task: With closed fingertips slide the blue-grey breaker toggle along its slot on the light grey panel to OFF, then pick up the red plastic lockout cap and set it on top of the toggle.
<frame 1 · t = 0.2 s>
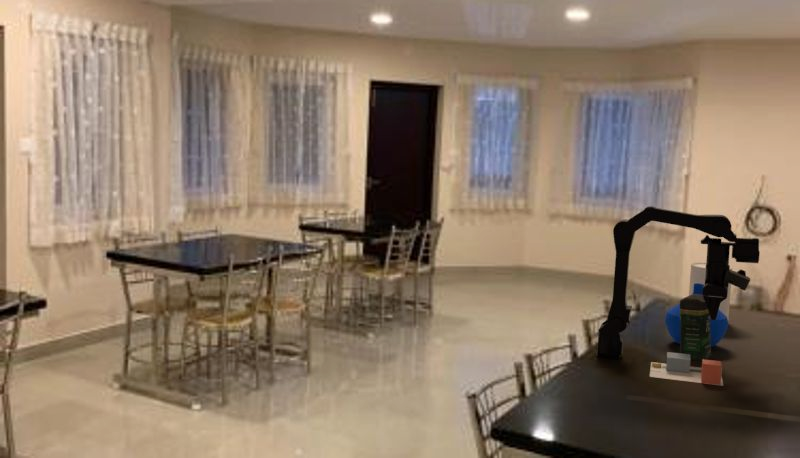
hand: (714, 316, 219), 15 cm above the table, fingers open, 9 cm apart
coffee jar: (695, 359, 228), on the table
canister: (707, 322, 279), on the table
panel: (685, 376, 211), on the table
vase: (694, 345, 246), on the table
breaker toggle: (678, 362, 214), point 3 cm above the table, slide at 0.0 cm
lockout cap: (710, 381, 204), point 1 cm above the table, touching panel
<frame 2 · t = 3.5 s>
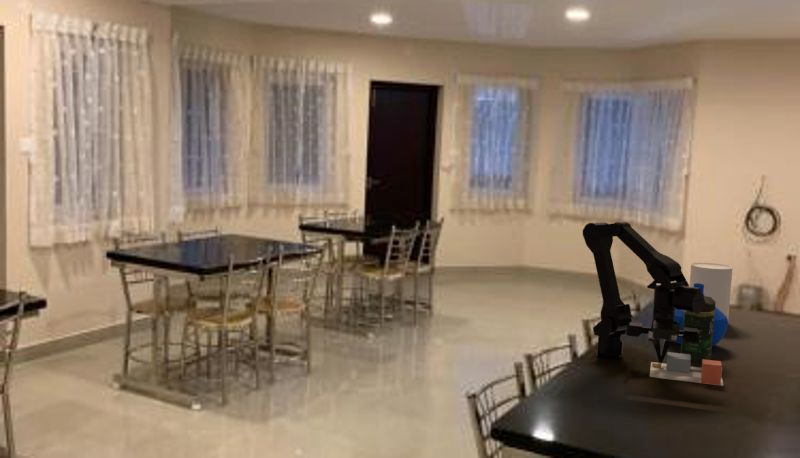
hand: (660, 362, 216), 2 cm above the table, fingers closed
breaker toggle: (678, 362, 214), point 3 cm above the table, slide at 0.1 cm, touching gripper
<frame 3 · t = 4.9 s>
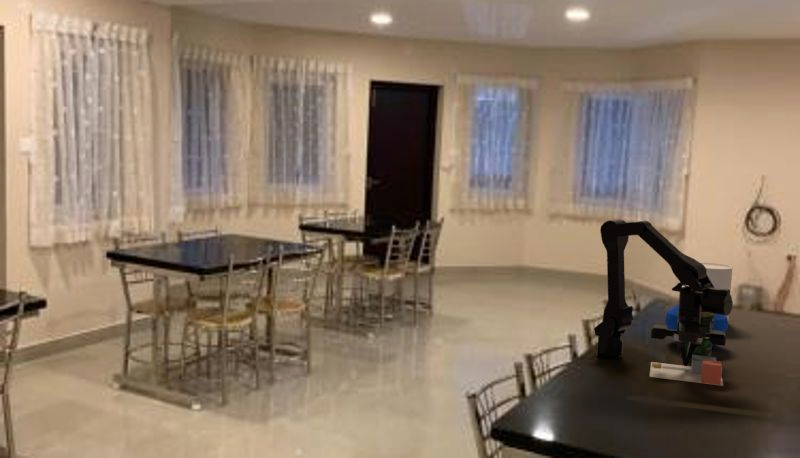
hand: (685, 365, 214), 2 cm above the table, fingers closed
breaker toggle: (703, 365, 212), point 3 cm above the table, slide at 6.5 cm, touching gripper
everything else where it was.
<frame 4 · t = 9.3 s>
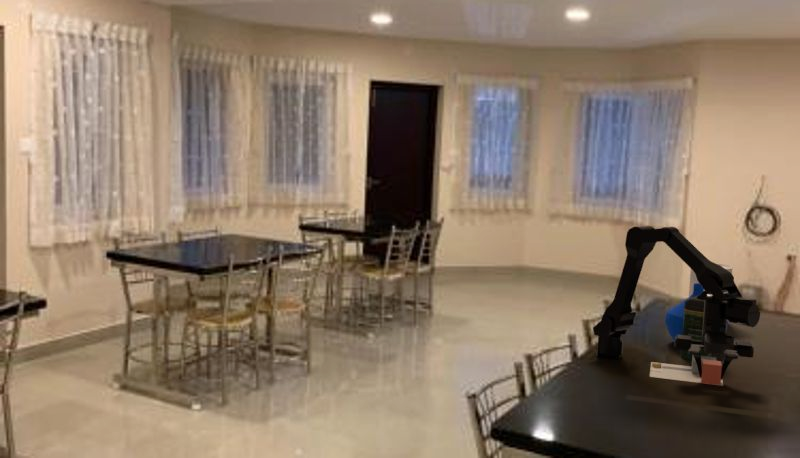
hand: (710, 378, 204), 2 cm above the table, fingers closed on lockout cap, 4 cm apart
breaker toggle: (704, 365, 212), point 3 cm above the table, slide at 6.6 cm
lockout cap: (710, 381, 204), point 1 cm above the table, touching gripper, panel
everything else where it was.
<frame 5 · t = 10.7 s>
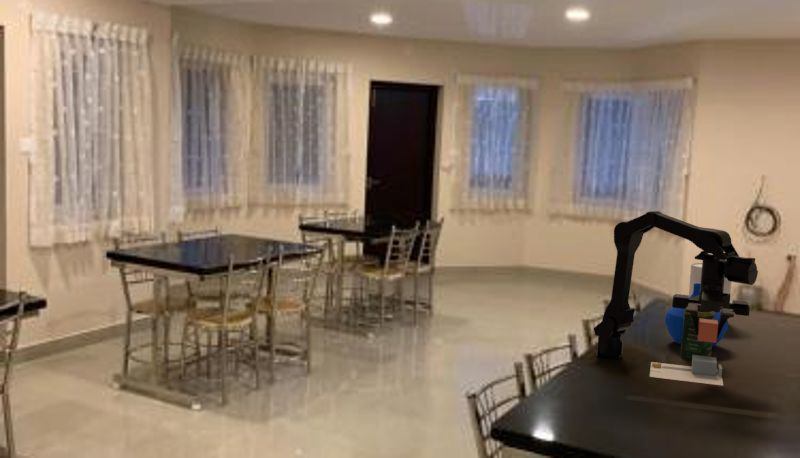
hand: (707, 336, 208), 12 cm above the table, fingers closed on lockout cap, 4 cm apart
lockout cap: (706, 339, 208), point 11 cm above the table, touching gripper
everything else where it was.
when the fingers open (6 cm above the table, at t = 12.3 s): lockout cap stays where it is, resting on breaker toggle.
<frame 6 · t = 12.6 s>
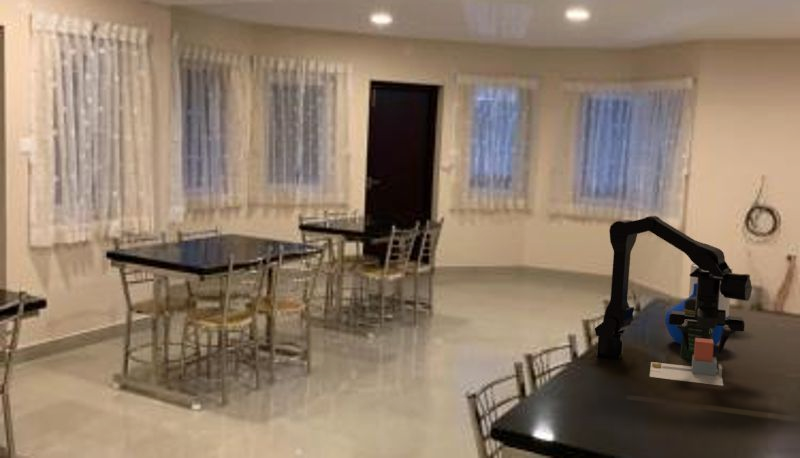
hand: (703, 352, 212), 6 cm above the table, fingers open, 8 cm apart
breaker toggle: (704, 365, 212), point 3 cm above the table, slide at 6.6 cm, touching lockout cap
lockout cap: (702, 358, 212), point 5 cm above the table, touching breaker toggle
everything else where it was.
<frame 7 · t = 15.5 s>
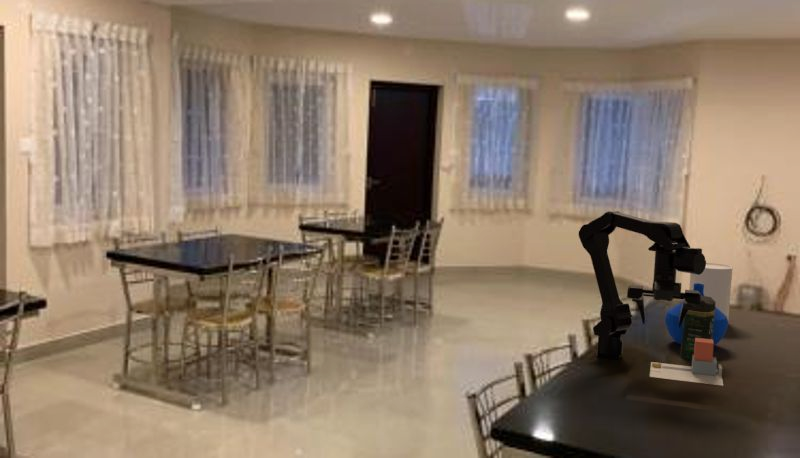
hand: (661, 325, 215), 13 cm above the table, fingers open, 9 cm apart
nothing on the table moved.
at the end: breaker toggle slide at 6.6 cm; lockout cap 0.4 cm from the breaker toggle (horizontally); lockout cap point 4.6 cm above the table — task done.
